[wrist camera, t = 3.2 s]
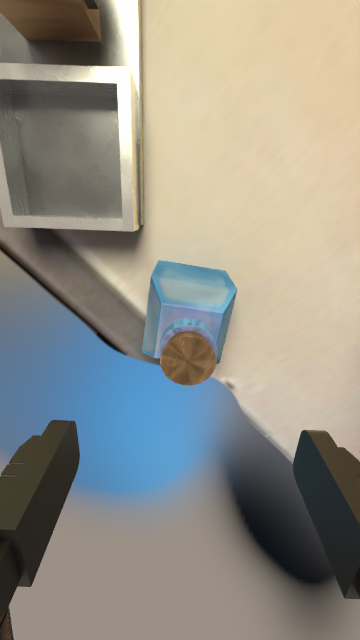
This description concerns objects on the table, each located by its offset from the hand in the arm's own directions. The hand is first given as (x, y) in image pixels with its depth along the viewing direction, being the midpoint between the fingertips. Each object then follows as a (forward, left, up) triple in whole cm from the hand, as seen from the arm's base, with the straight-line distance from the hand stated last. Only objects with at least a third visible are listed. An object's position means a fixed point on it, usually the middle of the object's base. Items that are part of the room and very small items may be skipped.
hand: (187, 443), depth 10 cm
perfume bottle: (0, 0, -18) cm, 18 cm away
